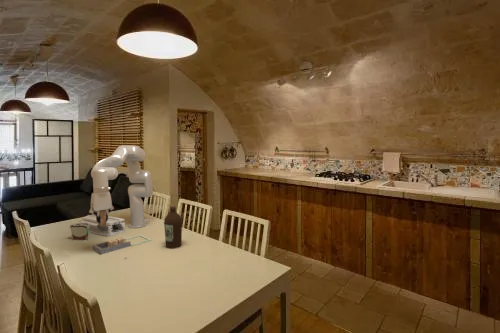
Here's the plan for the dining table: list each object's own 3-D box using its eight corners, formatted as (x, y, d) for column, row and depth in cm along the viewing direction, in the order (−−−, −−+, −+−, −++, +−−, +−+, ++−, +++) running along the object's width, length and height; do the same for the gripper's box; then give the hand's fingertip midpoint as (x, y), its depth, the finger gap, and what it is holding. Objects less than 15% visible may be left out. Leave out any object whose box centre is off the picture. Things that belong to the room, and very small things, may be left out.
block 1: (114, 245, 170) (114, 239, 169) (117, 247, 167) (117, 240, 167) (108, 247, 167) (107, 240, 166) (110, 249, 164) (110, 242, 164)
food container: (94, 237, 188) (93, 222, 187) (88, 240, 182) (87, 225, 181) (77, 236, 189) (76, 222, 188) (70, 239, 183) (69, 224, 182)
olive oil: (173, 241, 180) (172, 203, 178) (186, 244, 175) (185, 205, 173) (160, 246, 171) (159, 206, 169) (173, 250, 166) (172, 208, 164)
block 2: (123, 243, 174) (122, 237, 173) (126, 244, 171) (125, 238, 171) (116, 245, 171) (116, 238, 170) (119, 246, 168) (119, 240, 168)
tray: (140, 237, 187) (140, 234, 187) (151, 242, 178) (151, 239, 178) (121, 242, 178) (120, 239, 177) (131, 248, 169) (131, 245, 168)
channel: (121, 243, 177) (121, 237, 176) (130, 247, 169) (130, 241, 169) (92, 251, 164) (92, 244, 164) (101, 256, 157) (100, 249, 156)
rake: (102, 227, 166) (101, 208, 165) (108, 230, 161) (107, 210, 160) (97, 228, 163) (96, 209, 162) (102, 231, 158) (101, 211, 157)
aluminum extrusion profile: (106, 237, 189) (106, 222, 188) (79, 230, 203) (78, 217, 202) (125, 231, 201) (124, 217, 200) (97, 225, 215) (97, 212, 215)
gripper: (112, 187, 169) (113, 217, 170) (82, 191, 156) (84, 223, 158) (118, 189, 164) (119, 220, 165) (87, 193, 151) (89, 226, 153)
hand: (102, 221), depth 162 cm, fingers closed on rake, 3 cm apart
